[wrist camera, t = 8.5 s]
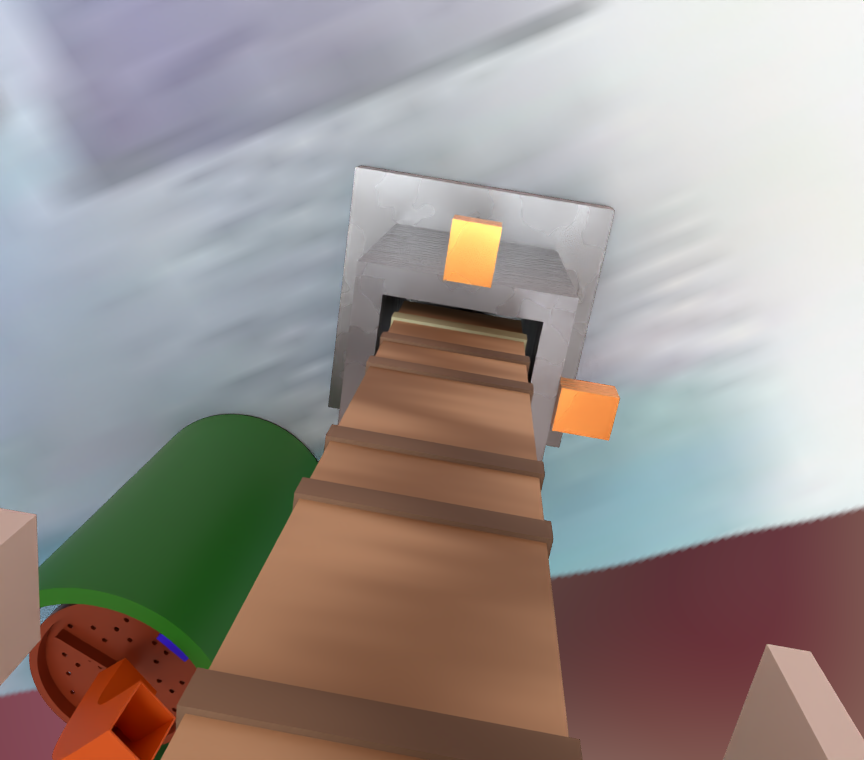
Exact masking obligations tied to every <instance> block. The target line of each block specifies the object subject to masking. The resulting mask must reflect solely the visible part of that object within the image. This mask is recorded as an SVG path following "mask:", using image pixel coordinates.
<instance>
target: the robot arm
mask: <svg viewBox="0 0 864 760" xmlns="http://www.w3.org/2000/svg"><path fill="white" fill-rule="evenodd" d="M40 640H41V634H40V605H39V575H38V545H37V516H36V514H30V513H25V512H19V511H13V510H8V509H2V508H0V686H1V684H2V683H3V682H4V681H5V680H6V679H7V678H8V676H9V675H10V674H11V673H12V672H13V671H14V670H15V668H16V667H17V666H18V665H19V664H20V663H21V662H22V660H23V659H24V658H25V657H26V656H27V655H28V654H29V652H30V651H31V650H32V649H33V648H34V647H35V645H36V644H37V643H38V642H39V641H40ZM723 760H864V739H863V738H862V736H861V735H860V733H859V731H858V730H857V728H856V726H855V725H854V723H853V721H852V720H851V718H850V716H849V715H848V713H847V711H846V710H845V708H844V706H843V705H842V703H841V702H840V700H839V698H838V697H837V695H836V693H835V692H834V690H833V688H832V687H831V685H830V683H829V682H828V680H827V678H826V677H825V675H824V673H823V672H822V670H821V668H820V667H819V665H818V664H817V662H816V660H815V659H814V657H813V655H812V654H811V652H809V651H803V650H798V649H792V648H786V647H781V646H775V645H769V644H767V645H766V648H765V650H764V653H763V655H762V658H761V661H760V663H759V666H758V669H757V671H756V674H755V677H754V679H753V682H752V685H751V687H750V690H749V692H748V695H747V698H746V701H745V703H744V706H743V708H742V711H741V714H740V716H739V719H738V722H737V724H736V727H735V729H734V732H733V735H732V737H731V740H730V743H729V746H728V748H727V751H726V754H725V756H724V758H723Z"/></svg>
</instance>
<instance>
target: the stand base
mask: <svg viewBox="0 0 864 760" xmlns="http://www.w3.org/2000/svg"><path fill="white" fill-rule="evenodd" d="M614 212H615V210H614V209H612V208H611V207H608V206H602V205H596V204H590V203H584V202H578V201H572V200H566V199H560V198H554V197H548V196H542V195H536V194H530V193H524V192H518V191H512V190H506V189H500V188H494V187H488V186H482V185H476V184H470V183H464V182H458V181H452V180H446V179H440V178H434V177H428V176H422V175H416V174H410V173H404V172H398V171H392V170H386V169H380V168H374V167H368V166H362V165H361V166H358V167H355V175H354V184H353V193H352V202H351V210H350V219H349V228H348V237H347V246H346V254H345V263H344V272H343V281H342V290H341V298H340V307H339V316H338V325H337V334H336V342H335V351H334V360H333V369H332V378H331V386H330V395H329V404H328V407H332V408H338V409H340V410H339V419H338V425H339V423H340V421H341V419H342V417H343V415H344V413H345V412H346V410H347V408H348V406H349V404H350V402H351V400H352V398H353V396H354V395H355V393H356V391H357V389H358V387H359V385H360V383H361V381H362V380H363V378H364V376H365V370H366V362H367V360H368V358H369V357H370V355H372V356H375V355H376V353H377V351H378V349H379V344H380V337H381V335H382V333H383V331H384V332H388V331H389V329H390V324H391V317H392V315H393V313H394V312H399V310H400V308H401V306H402V304H403V302H404V301H409V302H415V303H421V304H427V305H432V306H438V307H444V308H450V309H456V310H462V311H467V312H473V313H479V314H485V315H491V316H497V317H502V318H508V319H514V320H520V321H521V324H522V333H523V334H526V335H527V343H526V348H525V356H529V358H530V365H529V370H528V375H527V377H528V383H533V388H534V393H533V397H532V402H531V412H532V420H533V429H534V438H535V447H536V455H537V461H542V459H543V454H544V450H545V446H546V445H547V446H553V447H559V446H560V442H561V438H562V433H563V432H564V433H569V434H575V435H581V436H586V437H592V438H598V439H603V440H609V438H610V434H611V431H612V427H613V423H614V419H615V415H616V411H617V407H618V404H619V400H620V397H619V395H618V393H617V390H616V388H615V386H610V385H604V384H599V383H593V382H587V381H581V380H575V378H576V374H577V370H578V365H579V361H580V357H581V353H582V348H583V344H584V340H585V336H586V331H587V327H588V323H589V319H590V314H591V310H592V306H593V302H594V297H595V293H596V289H597V285H598V280H599V276H600V272H601V268H602V263H603V259H604V255H605V251H606V246H607V242H608V238H609V234H610V229H611V225H612V221H613V217H614Z"/></svg>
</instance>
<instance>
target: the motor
mask: <svg viewBox="0 0 864 760" xmlns="http://www.w3.org/2000/svg"><path fill="white" fill-rule="evenodd" d="M317 464H318V462H317V461H316V459H315V458H314V456H313V455H312V454H311V453H310V451H309V450H308V449H307V448H306V447H305V446H304V445H303V444H302V443H301V442H300V441H299V440H298V439H297V438H295V437H294V436H293V435H291V434H290V433H289V432H287V431H285V430H284V429H282V428H280V427H279V426H277V425H275V424H272V423H270V422H268V421H265V420H262V419H259V418H255V417H251V416H246V415H236V414H225V415H216V416H211V417H207V418H204V419H201V420H198V421H196V422H194V423H192V424H190V425H188V426H187V427H185V428H184V429H182V430H181V431H180V432H178V433H177V434H176V435H175V436H174V437H173V438H172V439H171V440H170V441H169V442H168V443H167V444H166V445H165V446H164V447H163V448H162V449H161V450H160V451H159V452H158V453H157V454H156V455H154V456H153V457H152V458H151V459H150V460H149V461H148V462H147V463H146V464H145V465H144V466H143V467H142V468H141V469H140V470H139V471H138V472H137V473H136V474H135V475H134V476H133V477H132V478H131V479H130V480H129V481H128V482H127V483H126V484H124V485H123V486H122V487H121V488H120V489H119V490H118V491H117V492H116V493H115V494H114V495H113V496H112V497H111V498H110V499H109V500H108V501H107V502H106V503H105V504H104V505H103V506H102V507H101V508H100V509H99V510H98V511H97V512H96V513H94V514H93V515H92V516H91V517H90V518H89V519H88V520H87V521H86V522H85V523H84V524H83V525H82V526H81V527H80V528H79V529H78V530H77V531H76V532H75V533H74V534H73V535H72V536H71V537H70V538H69V539H68V540H67V541H66V542H64V543H63V544H62V545H61V546H60V547H59V548H58V549H57V550H56V551H55V552H54V553H53V554H52V555H51V556H50V557H49V558H48V559H47V560H46V561H45V562H44V563H43V564H42V565H41V566H40V567H39V568H38V575H39V605H40V608H41V607H44V606H50V605H57V604H61V605H60V606H58V607H57V608H56V609H55V610H54V611H53V612H52V613H51V614H50V616H49V617H48V618H47V619H46V620H45V621H44V622H43V623H42V624H41V626H40V634H41V640H40V641H39V642H38V643H37V644H36V645H35V647H34V648H33V649H32V650H31V651H30V654H29V662H30V670H31V674H32V677H33V680H34V683H35V685H36V687H37V689H38V691H39V693H40V695H41V696H42V698H43V699H44V701H45V702H46V703H47V705H48V706H49V707H50V708H51V709H52V710H53V711H54V713H55V714H56V715H58V716H59V717H60V718H61V719H62V720H63V721H64V722H66V723H67V725H66V727H65V728H64V730H63V732H62V734H61V736H60V737H59V739H58V741H57V744H56V746H55V748H54V751H53V754H52V759H53V760H161V758H162V756H163V754H164V752H165V751H166V749H167V747H168V745H169V743H170V741H171V739H172V737H173V735H174V734H175V732H176V711H177V704H178V702H179V700H180V698H181V696H182V695H183V693H184V691H185V689H186V687H187V685H188V684H189V682H190V680H191V678H192V676H193V675H194V673H195V671H196V669H197V667H198V668H204V669H209V668H210V666H211V664H212V662H213V660H214V658H215V656H216V654H217V653H218V651H219V649H220V647H221V645H222V643H223V641H224V639H225V638H226V636H227V634H228V632H229V630H230V628H231V626H232V624H233V622H234V621H235V619H236V617H237V615H238V613H239V611H240V609H241V607H242V606H243V604H244V602H245V600H246V598H247V596H248V594H249V592H250V590H251V589H252V587H253V585H254V583H255V581H256V579H257V577H258V575H259V574H260V572H261V570H262V568H263V566H264V564H265V562H266V560H267V558H268V557H269V555H270V553H271V551H272V549H273V547H274V545H275V543H276V541H277V540H278V538H279V536H280V534H281V532H282V530H283V528H284V526H285V525H286V523H287V521H288V519H289V517H290V515H291V513H292V510H293V500H294V492H295V490H296V488H297V487H298V485H299V483H300V481H301V479H302V478H303V477H306V478H310V477H311V476H312V474H313V472H314V470H315V468H316V466H317ZM69 672H70V673H69ZM72 690H73V691H74V692H73V691H72Z"/></svg>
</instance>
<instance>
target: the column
mask: <svg viewBox="0 0 864 760" xmlns="http://www.w3.org/2000/svg"><path fill="white" fill-rule="evenodd" d="M526 343H527V335H526V334H523V333H522V324H521V321H520V320H514V319H508V318H502V317H497V316H491V315H485V314H479V313H473V312H467V311H462V310H456V309H450V308H444V307H438V306H432V305H427V304H421V303H415V302H409V301H404V302H403V304H402V306H401V308H400V310H399V312H394V313H393V315H392V317H391V324H390V329H389V331H388V332H384V331H383V333H382V335H381V337H380V344H379V349H378V351H377V353H376V355H375V356H372V355H370V357H369V358H368V360H367V362H366V370H365V376H364V378H363V380H362V381H361V383H360V385H359V387H358V389H357V391H356V393H355V395H354V396H353V398H352V400H351V402H350V404H349V406H348V408H347V410H346V412H345V413H344V415H343V417H342V419H341V421H340V423H339V425H333V424H332V425H331V427H330V429H329V431H328V432H327V434H326V438H325V447H324V453H323V455H322V457H321V459H320V460H319V462H318V464H317V466H316V468H315V470H314V472H313V474H312V476H311V477H310V478H306V477H303V478H302V479H301V481H300V483H299V485H298V487H297V488H296V490H295V492H294V500H293V510H292V513H291V515H290V517H289V519H288V521H287V523H286V525H285V526H284V528H283V530H282V532H281V534H280V536H279V538H278V540H277V541H276V543H275V545H274V547H273V549H272V551H271V553H270V555H269V557H268V558H267V560H266V562H265V564H264V566H263V568H262V570H261V572H260V574H259V575H258V577H257V579H256V581H255V583H254V585H253V587H252V589H251V590H250V592H249V594H248V596H247V598H246V600H245V602H244V604H243V606H242V607H241V609H240V611H239V613H238V615H237V617H236V619H235V621H234V622H233V624H232V626H231V628H230V630H229V632H228V634H227V636H226V638H225V639H224V641H223V643H222V645H221V647H220V649H219V651H218V653H217V654H216V656H215V658H214V660H213V662H212V664H211V666H210V668H209V669H204V668H198V667H197V669H196V671H195V673H194V675H193V676H192V678H191V680H190V682H189V684H188V685H187V687H186V689H185V691H184V693H183V695H182V696H181V698H180V700H179V702H178V704H177V711H176V732H175V734H174V735H173V737H172V739H171V741H170V743H169V745H168V747H167V749H166V751H165V752H164V754H163V756H162V758H161V760H582V752H581V745H580V739H576V738H570V737H569V736H568V727H567V718H566V710H565V701H564V692H563V683H562V674H561V665H560V657H559V648H558V639H557V631H556V622H555V613H554V604H553V596H552V587H551V578H550V569H549V560H548V559H549V555H550V551H551V547H552V543H553V532H552V525H551V521H545V520H544V517H543V508H542V499H541V489H542V485H543V480H544V476H545V472H544V464H543V462H542V461H537V455H536V447H535V438H534V429H533V420H532V412H531V402H532V397H533V393H534V388H533V383H528V377H527V375H528V370H529V365H530V358H529V356H525V348H526Z"/></svg>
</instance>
